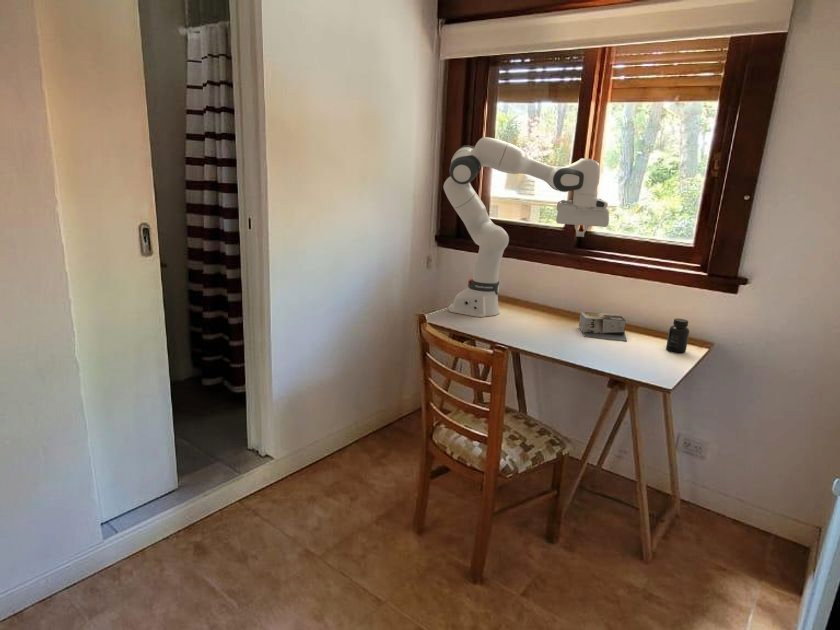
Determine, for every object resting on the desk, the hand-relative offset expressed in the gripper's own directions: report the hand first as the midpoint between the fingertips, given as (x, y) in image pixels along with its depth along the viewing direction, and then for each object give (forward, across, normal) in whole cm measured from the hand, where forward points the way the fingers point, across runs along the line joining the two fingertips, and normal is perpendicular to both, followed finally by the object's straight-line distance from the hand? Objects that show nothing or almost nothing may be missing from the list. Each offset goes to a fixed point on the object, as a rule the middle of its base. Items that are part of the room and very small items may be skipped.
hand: (580, 236), depth 220 cm
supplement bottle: (+37, +39, -18) cm, 57 cm away
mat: (+37, +14, -8) cm, 40 cm away
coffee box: (+33, +4, -7) cm, 34 cm away
